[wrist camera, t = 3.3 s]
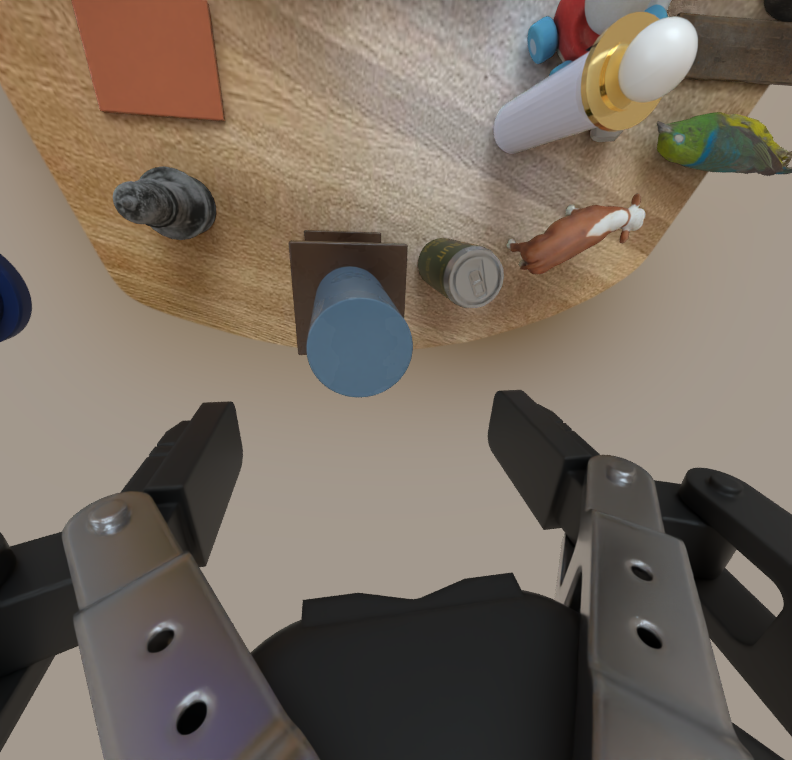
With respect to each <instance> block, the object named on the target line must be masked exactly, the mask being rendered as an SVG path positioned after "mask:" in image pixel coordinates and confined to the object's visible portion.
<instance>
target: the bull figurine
mask: <svg viewBox="0 0 792 760" xmlns="http://www.w3.org/2000/svg"><path fill="white" fill-rule="evenodd" d="M631 203H632V204H631V207H630V208H623V207H614V206H607V207H605V206H599V205H592V206H588V207H586V208H582V209H578V208H575V206H574V205H569V206H568V207H567V209H566V215H570V216H567V217H564V218H561V219H559V220H557V221H555V222H554V223H553V224H552V225H551V226H550V227H549V228H548V229H547V230H546V232H545V233H544V234H541V235H537V236H535V237H534V238H533V239H531V240H530V241H528V242H523V243H519V244H518V243H516V242H515V239H514V238H511V239H509V240H508V244H507V248H510V249H511V251H512V252H515V251H519V252H520V253H521V256H522V258H523V260H521V261H520V262H519V264H518V265H519V267H520V269H522V270H527V269H528V271H529V272H530V273H532V274H542V273H545V272H547V271H548V270H549V269H551V268H553V267H554V266H556V265H559V264H561V263H563V262H565V261H567V260H569V259H571V258H572V257H574V256H576V255H577V254H579V253H581V252H583V251H584V250H586V249H588V248H590V247H592V246H593V245H595V244H597V243H598V242H600V241H601V240H603V239H604V238H605V237H606V236H607V235H608V234H609V233H611V232H613V231H616V230H617V229H619V228H620V229H622V233H621V236H620V243H624V242H625V241H626V240H627V239H628V238H629V232H630V230H632V231H635V230H638V229H639V228H640V227H641V226H642V225H643V220H644V218H645V211H644V210H643V209H638V207H639V205H640V203H641V196H640V194H638V193H637V194H635V195H634V196H633V198H632V202H631Z"/></svg>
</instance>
